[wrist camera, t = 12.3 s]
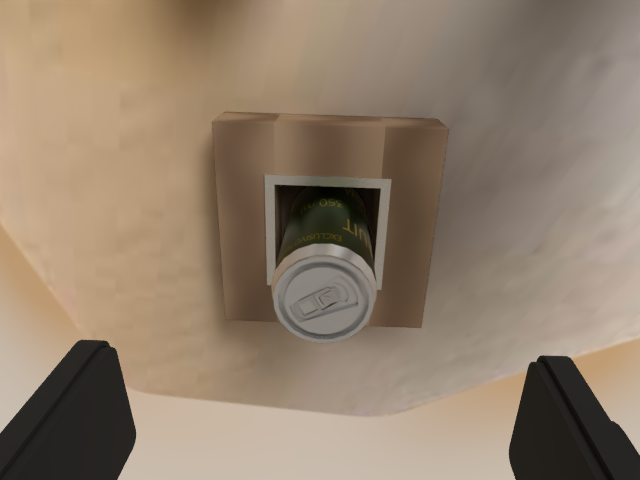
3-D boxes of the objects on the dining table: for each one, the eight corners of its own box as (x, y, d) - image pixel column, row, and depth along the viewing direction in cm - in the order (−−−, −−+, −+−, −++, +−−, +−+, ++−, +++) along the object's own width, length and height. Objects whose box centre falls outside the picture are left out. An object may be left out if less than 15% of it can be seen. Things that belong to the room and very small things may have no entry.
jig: (437, 119, 31) (448, 129, 28) (414, 301, 37) (421, 328, 33) (224, 111, 31) (211, 121, 28) (235, 294, 37) (225, 319, 34)
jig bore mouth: (391, 178, 29) (391, 179, 29) (380, 288, 32) (381, 289, 32) (265, 174, 29) (264, 174, 29) (267, 283, 32) (266, 285, 32)
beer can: (313, 258, 35) (302, 361, 24) (277, 198, 33) (247, 281, 23) (378, 227, 34) (397, 322, 23) (344, 163, 32) (347, 233, 21)
